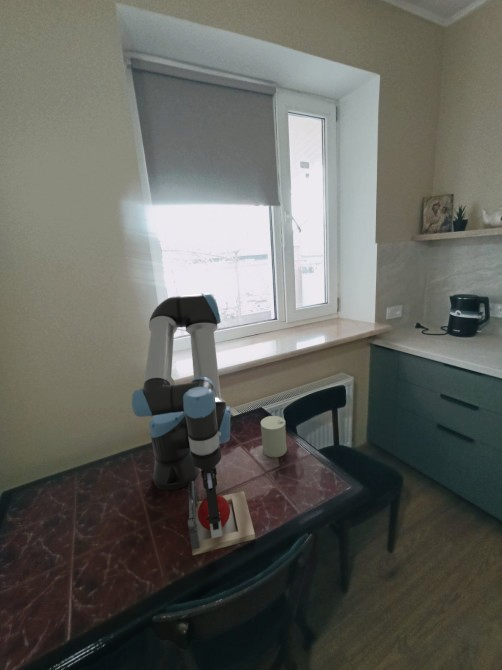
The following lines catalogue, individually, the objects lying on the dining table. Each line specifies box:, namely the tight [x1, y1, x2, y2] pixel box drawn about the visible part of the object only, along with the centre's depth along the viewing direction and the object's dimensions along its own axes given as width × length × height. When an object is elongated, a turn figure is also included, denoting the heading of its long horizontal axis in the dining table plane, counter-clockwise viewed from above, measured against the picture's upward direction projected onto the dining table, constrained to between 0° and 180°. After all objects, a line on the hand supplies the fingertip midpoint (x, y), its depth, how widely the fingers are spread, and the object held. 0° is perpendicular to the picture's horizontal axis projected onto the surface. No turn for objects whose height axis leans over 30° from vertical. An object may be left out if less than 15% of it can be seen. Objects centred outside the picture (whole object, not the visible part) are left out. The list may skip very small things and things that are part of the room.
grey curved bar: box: [187, 480, 200, 551], centre depth 78 cm, size 2×17×9 cm, turn 12°
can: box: [260, 415, 288, 458], centre depth 109 cm, size 9×9×12 cm
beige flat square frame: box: [191, 490, 256, 556], centre depth 81 cm, size 16×15×2 cm
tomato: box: [198, 494, 230, 530], centre depth 80 cm, size 9×9×8 cm
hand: (214, 514), depth 80 cm, fingers open, 13 cm apart
